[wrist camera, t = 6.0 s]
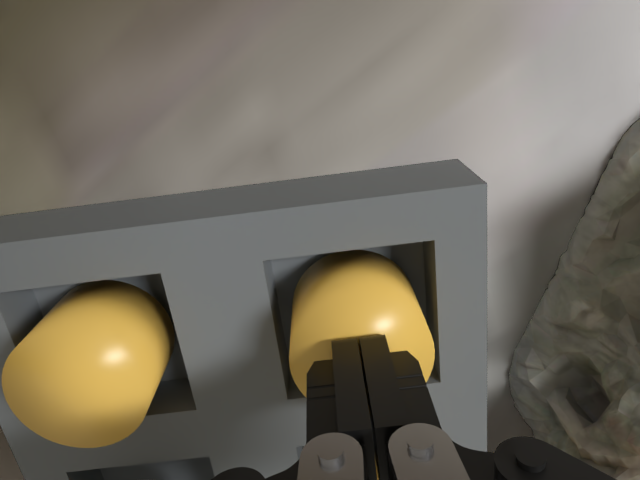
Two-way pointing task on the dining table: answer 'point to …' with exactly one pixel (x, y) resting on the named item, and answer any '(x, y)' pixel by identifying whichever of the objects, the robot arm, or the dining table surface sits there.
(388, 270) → the amber button
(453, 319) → the button board
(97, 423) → the amber button
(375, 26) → the dining table surface
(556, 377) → the ceramic cottage
